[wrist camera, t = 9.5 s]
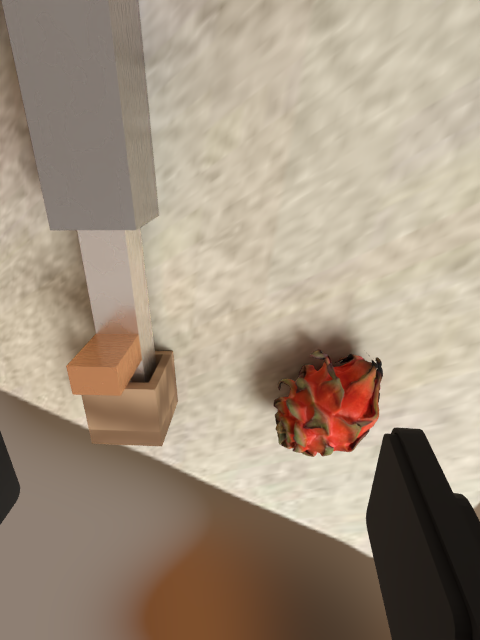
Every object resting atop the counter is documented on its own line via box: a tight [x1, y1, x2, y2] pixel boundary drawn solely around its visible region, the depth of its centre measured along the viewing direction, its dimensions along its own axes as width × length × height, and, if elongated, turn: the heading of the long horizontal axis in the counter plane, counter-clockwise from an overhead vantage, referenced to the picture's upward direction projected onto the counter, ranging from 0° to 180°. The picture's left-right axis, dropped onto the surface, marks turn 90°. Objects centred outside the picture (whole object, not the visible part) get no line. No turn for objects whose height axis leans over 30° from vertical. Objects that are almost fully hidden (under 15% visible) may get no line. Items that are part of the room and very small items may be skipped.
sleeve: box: [2, 0, 159, 230], centre depth 27 cm, size 15×6×6 cm, turn 1°
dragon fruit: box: [274, 350, 383, 457], centre depth 35 cm, size 8×8×12 cm
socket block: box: [82, 351, 178, 446], centre depth 36 cm, size 6×6×7 cm
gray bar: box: [66, 228, 157, 396], centre depth 30 cm, size 21×4×9 cm, turn 1°
